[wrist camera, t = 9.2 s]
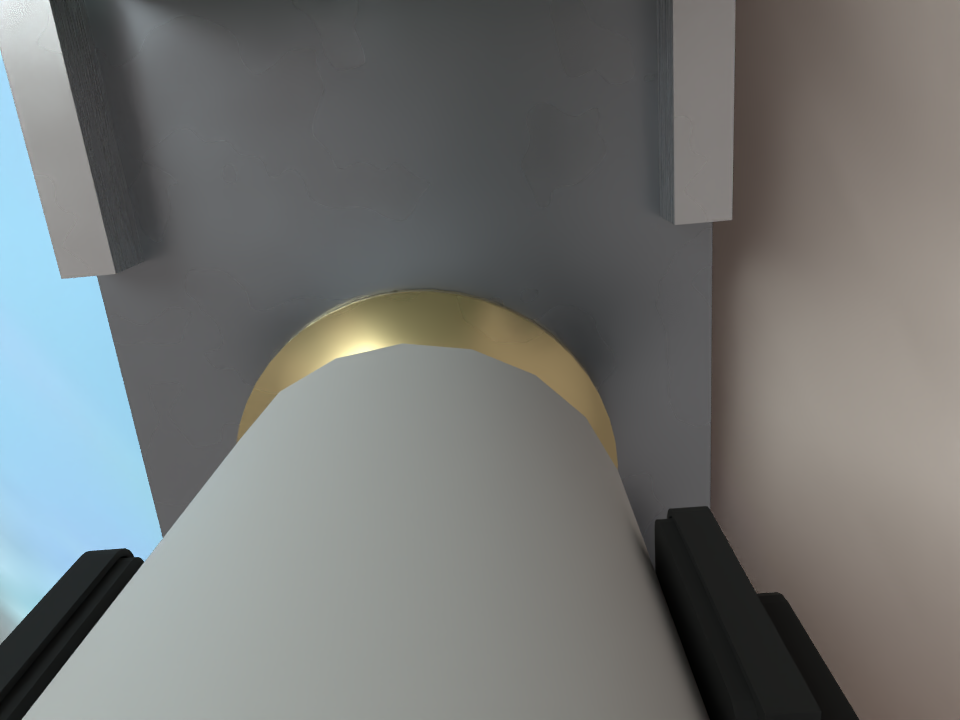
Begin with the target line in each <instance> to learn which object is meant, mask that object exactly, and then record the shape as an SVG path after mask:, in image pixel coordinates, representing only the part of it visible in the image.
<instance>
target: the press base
mask: <svg viewBox="0 0 960 720" xmlns="http://www.w3.org/2000/svg"><path fill="white" fill-rule="evenodd" d="M735 8H736V0H0V50H1V54H2V58H3V61H4V65H5V69H6V73H7V76H8V80H9V84H10V88H11V91H12V95H13V99H14V103H15V106H16V110H17V114H18V118H19V121H20V125H21V129H22V133H23V136H24V140H25V144H26V148H27V151H28V155H29V159H30V163H31V166H32V170H33V174H34V178H35V181H36V185H37V189H38V193H39V196H40V200H41V204H42V208H43V211H44V215H45V219H46V223H47V226H48V230H49V234H50V238H51V241H52V245H53V249H54V253H55V256H56V260H57V264H58V268H59V271H60V275H61V279H64V278H76V277H87V276H97V278H98V282H99V286H100V290H101V294H102V298H103V302H104V306H105V310H106V314H107V318H108V322H109V326H110V330H111V334H112V338H113V341H114V345H115V349H116V353H117V357H118V361H119V365H120V369H121V373H122V377H123V381H124V385H125V389H126V393H127V397H128V401H129V405H130V409H131V413H132V417H133V421H134V425H135V429H136V433H137V437H138V441H139V445H140V449H141V453H142V457H143V461H144V465H145V469H146V473H147V477H148V481H149V485H150V489H151V493H152V497H153V500H154V504H155V508H156V512H157V516H158V520H159V524H160V528H161V532H162V536H163V538H164V536H165V535H166V534H167V532H168V531H169V530H170V529H171V527H172V526H173V525H174V523H175V522H176V521H177V520H178V518H179V517H180V516H181V514H182V513H183V512H184V511H185V509H186V508H187V507H188V505H189V504H190V503H191V502H192V500H193V499H194V498H195V496H196V495H197V494H198V493H199V491H200V490H201V489H202V487H203V486H204V485H205V484H206V482H207V481H208V480H209V478H210V477H211V476H212V475H213V473H214V472H215V471H216V469H217V468H218V467H219V466H220V464H221V463H222V462H223V461H224V459H225V458H226V457H227V455H228V454H229V453H230V452H231V450H232V449H233V448H234V446H235V445H236V444H237V443H238V441H239V440H240V439H241V438H242V436H243V435H244V434H245V433H246V432H247V430H248V429H249V428H250V427H251V426H252V424H253V423H254V422H255V421H256V420H257V418H258V417H259V416H260V415H261V414H262V412H263V411H264V410H265V409H266V408H267V406H268V405H269V404H270V403H271V402H272V400H273V399H274V398H275V397H276V396H277V394H278V393H279V392H280V391H282V390H283V389H285V388H287V387H289V386H290V385H292V384H294V383H295V382H297V381H299V380H300V379H302V378H304V377H305V376H307V375H309V374H310V373H312V372H314V371H315V370H317V369H319V368H320V367H322V366H324V365H325V364H327V363H329V362H331V361H332V360H334V359H336V358H340V357H344V356H349V355H353V354H358V353H362V352H367V351H371V350H376V349H380V348H385V347H389V346H393V345H398V344H402V343H403V344H415V345H427V346H438V347H450V348H462V349H472V350H475V351H477V352H480V353H482V354H485V355H487V356H490V357H492V358H495V359H497V360H499V361H502V362H504V363H507V364H509V365H512V366H514V367H517V368H519V369H522V370H524V371H527V372H529V373H532V374H534V375H536V376H537V377H538V378H540V379H541V380H542V381H543V382H544V383H546V384H547V385H548V386H549V387H550V388H551V389H553V390H554V391H555V392H556V393H557V394H559V395H560V396H561V397H562V398H563V399H565V400H566V401H567V402H568V403H569V404H571V405H572V406H573V407H574V408H575V409H577V410H578V411H579V412H580V413H581V414H583V415H584V416H585V417H586V418H587V420H588V422H589V423H590V425H591V427H592V428H593V430H594V432H595V433H596V435H597V437H598V438H599V440H600V442H601V443H602V445H603V447H604V448H605V450H606V452H607V453H608V455H609V457H610V458H611V460H612V462H613V463H614V465H615V466H616V468H617V470H618V472H619V475H620V478H621V481H622V483H623V486H624V489H625V491H626V494H627V497H628V499H629V502H630V505H631V508H632V510H633V513H634V516H635V518H636V521H637V524H638V527H639V529H640V532H641V535H642V537H643V540H644V543H645V545H646V548H647V551H648V554H649V556H650V559H651V562H652V564H653V567H654V570H655V521H656V519H667V513H668V510H669V509H670V508H684V507H698V506H708V508H709V509H710V485H711V350H712V222H715V221H726V220H732V201H733V137H734V72H735Z"/></svg>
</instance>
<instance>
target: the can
mask: <svg viewBox="0 0 960 720" xmlns="http://www.w3.org/2000/svg"><path fill="white" fill-rule="evenodd" d="M22 720H710V719H709V716H708V713H707V711H706V708H705V705H704V702H703V700H702V697H701V694H700V692H699V689H698V686H697V683H696V681H695V678H694V675H693V673H692V670H691V667H690V665H689V662H688V659H687V656H686V654H685V651H684V648H683V646H682V643H681V640H680V637H679V635H678V632H677V629H676V627H675V624H674V621H673V619H672V616H671V613H670V610H669V608H668V605H667V602H666V600H665V597H664V594H663V591H662V589H661V586H660V583H659V581H658V578H657V575H656V573H655V570H654V567H653V564H652V562H651V559H650V556H649V554H648V551H647V548H646V545H645V543H644V540H643V537H642V535H641V532H640V529H639V527H638V524H637V521H636V518H635V516H634V513H633V510H632V508H631V505H630V502H629V499H628V497H627V494H626V491H625V489H624V486H623V483H622V481H621V478H620V475H619V472H618V470H617V468H616V466H615V465H614V463H613V462H612V460H611V458H610V457H609V455H608V453H607V452H606V450H605V448H604V447H603V445H602V443H601V442H600V440H599V438H598V437H597V435H596V433H595V432H594V430H593V428H592V427H591V425H590V423H589V422H588V420H587V418H586V417H585V416H584V415H583V414H581V413H580V412H579V411H578V410H577V409H575V408H574V407H573V406H572V405H571V404H569V403H568V402H567V401H566V400H565V399H563V398H562V397H561V396H560V395H559V394H557V393H556V392H555V391H554V390H553V389H551V388H550V387H549V386H548V385H547V384H546V383H544V382H543V381H542V380H541V379H540V378H538V377H537V376H536V375H534V374H532V373H529V372H527V371H524V370H522V369H519V368H517V367H514V366H512V365H509V364H507V363H504V362H502V361H499V360H497V359H495V358H492V357H490V356H487V355H485V354H482V353H480V352H477V351H475V350H472V349H462V348H450V347H438V346H427V345H415V344H403V343H402V344H398V345H393V346H389V347H385V348H380V349H376V350H371V351H367V352H362V353H358V354H353V355H349V356H344V357H340V358H336V359H334V360H332V361H331V362H329V363H327V364H325V365H324V366H322V367H320V368H319V369H317V370H315V371H314V372H312V373H310V374H309V375H307V376H305V377H304V378H302V379H300V380H299V381H297V382H295V383H294V384H292V385H290V386H289V387H287V388H285V389H283V390H282V391H280V392H279V393H278V394H277V396H276V397H275V398H274V399H273V400H272V402H271V403H270V404H269V405H268V406H267V408H266V409H265V410H264V411H263V412H262V414H261V415H260V416H259V417H258V418H257V420H256V421H255V422H254V423H253V424H252V426H251V427H250V428H249V429H248V430H247V432H246V433H245V434H244V435H243V436H242V438H241V439H240V440H239V441H238V443H237V444H236V445H235V446H234V448H233V449H232V450H231V452H230V453H229V454H228V455H227V457H226V458H225V459H224V461H223V462H222V463H221V464H220V466H219V467H218V468H217V469H216V471H215V472H214V473H213V475H212V476H211V477H210V478H209V480H208V481H207V482H206V484H205V485H204V486H203V487H202V489H201V490H200V491H199V493H198V494H197V495H196V496H195V498H194V499H193V500H192V502H191V503H190V504H189V505H188V507H187V508H186V509H185V511H184V512H183V513H182V514H181V516H180V517H179V518H178V520H177V521H176V522H175V523H174V525H173V526H172V527H171V529H170V530H169V531H168V532H167V534H166V535H165V536H164V538H163V539H162V540H161V541H160V543H159V544H158V545H157V546H156V548H155V549H154V550H153V552H152V553H151V554H150V555H149V557H148V558H147V559H146V561H145V562H144V563H143V564H142V566H141V567H140V568H139V570H138V571H137V572H136V573H135V575H134V576H133V577H132V579H131V580H130V581H129V582H128V584H127V585H126V586H125V588H124V589H123V590H122V591H121V593H120V594H119V595H118V597H117V598H116V599H115V600H114V602H113V603H112V604H111V606H110V607H109V608H108V609H107V611H106V612H105V613H104V615H103V616H102V617H101V618H100V620H99V621H98V622H97V624H96V625H95V626H94V627H93V629H92V630H91V631H90V632H89V634H88V635H87V636H86V638H85V639H84V640H83V641H82V643H81V644H80V645H79V647H78V648H77V649H76V650H75V652H74V653H73V654H72V656H71V657H70V658H69V659H68V661H67V662H66V663H65V665H64V666H63V667H62V668H61V670H60V671H59V672H58V674H57V675H56V676H55V677H54V679H53V680H52V681H51V683H50V684H49V685H48V686H47V688H46V689H45V690H44V692H43V693H42V694H41V695H40V697H39V698H38V699H37V701H36V702H35V703H34V704H33V706H32V707H31V708H30V709H29V711H28V712H27V713H26V715H25V716H24V717H23V718H22Z"/></svg>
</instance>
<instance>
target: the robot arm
mask: <svg viewBox="0 0 960 720" xmlns="http://www.w3.org/2000/svg"><path fill="white" fill-rule="evenodd" d="M143 563H144V561H143V560H142V559H141V558H139V557H134V556H133V554H132V553H131V551H130V550H128V549H126V548H124V549H110V550H97V551H88V552H85V553H84V554H83V555H82V556H81V557H80V558H79V559H78V560H77V561H76V562H75V563H74V564H73V565H72V567H71V568H70V569H69V570H68V571H67V572H66V573H65V574H64V575H63V576H62V578H61V579H60V580H59V581H58V582H57V583H56V584H55V585H54V586H53V587H52V589H51V590H50V591H49V592H48V593H47V594H46V595H45V596H44V597H43V598H42V600H41V601H40V602H39V603H38V604H37V605H36V606H35V607H34V608H33V609H32V611H31V612H30V613H29V614H28V615H27V616H26V617H25V618H24V619H23V620H22V622H21V623H20V624H19V625H18V626H17V627H16V628H15V629H14V630H13V631H12V633H11V634H10V635H9V636H8V637H7V638H6V639H5V640H4V641H3V642H2V644H1V645H0V720H22V718H23V717H24V716H25V715H26V713H27V712H28V711H29V709H30V708H31V707H32V706H33V704H34V703H35V702H36V701H37V699H38V698H39V697H40V695H41V694H42V693H43V692H44V690H45V689H46V688H47V686H48V685H49V684H50V683H51V681H52V680H53V679H54V677H55V676H56V675H57V674H58V672H59V671H60V670H61V668H62V667H63V666H64V665H65V663H66V662H67V661H68V659H69V658H70V657H71V656H72V654H73V653H74V652H75V650H76V649H77V648H78V647H79V645H80V644H81V643H82V641H83V640H84V639H85V638H86V636H87V635H88V634H89V632H90V631H91V630H92V629H93V627H94V626H95V625H96V624H97V622H98V621H99V620H100V618H101V617H102V616H103V615H104V613H105V612H106V611H107V609H108V608H109V607H110V606H111V604H112V603H113V602H114V600H115V599H116V598H117V597H118V595H119V594H120V593H121V591H122V590H123V589H124V588H125V586H126V585H127V584H128V582H129V581H130V580H131V579H132V577H133V576H134V575H135V573H136V572H137V571H138V570H139V568H140V567H141V566H142V564H143ZM655 573H656V575H657V578H658V581H659V583H660V586H661V589H662V591H663V594H664V597H665V600H666V602H667V605H668V608H669V610H670V613H671V616H672V619H673V621H674V624H675V627H676V629H677V632H678V635H679V637H680V640H681V643H682V646H683V648H684V651H685V654H686V656H687V659H688V662H689V665H690V667H691V670H692V673H693V675H694V678H695V681H696V683H697V686H698V689H699V692H700V694H701V697H702V700H703V702H704V705H705V708H706V711H707V713H708V716H709V719H710V720H859V718H858V717H857V715H856V714H855V712H854V710H853V709H852V707H851V705H850V704H849V702H848V700H847V699H846V697H845V695H844V694H843V692H842V690H841V689H840V687H839V685H838V684H837V682H836V681H835V679H834V677H833V676H832V674H831V672H830V671H829V669H828V667H827V666H826V664H825V662H824V661H823V659H822V657H821V656H820V654H819V653H818V651H817V649H816V648H815V646H814V644H813V643H812V641H811V639H810V638H809V636H808V634H807V633H806V631H805V629H804V628H803V626H802V624H801V623H800V621H799V620H798V618H797V616H796V615H795V613H794V611H793V610H792V608H791V606H790V605H789V603H788V601H787V600H786V599H785V598H784V596H783V595H782V594H780V593H778V592H774V593H760V594H756V592H755V590H754V588H753V586H752V585H751V583H750V581H749V579H748V577H747V576H746V574H745V572H744V570H743V568H742V567H741V565H740V563H739V561H738V559H737V557H736V556H735V554H734V552H733V550H732V548H731V547H730V545H729V543H728V541H727V539H726V538H725V536H724V534H723V532H722V530H721V528H720V527H719V525H718V523H717V521H716V519H715V518H714V516H713V514H712V512H711V510H710V509H709V508H708V506H698V507H684V508H670V509H669V510H668V513H667V519H656V521H655Z"/></svg>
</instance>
